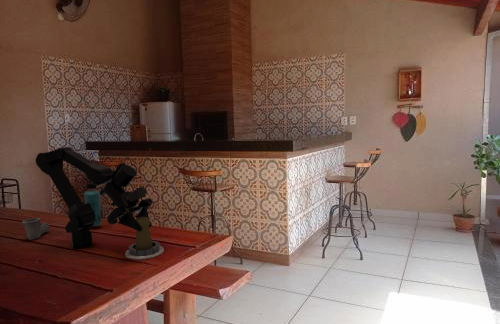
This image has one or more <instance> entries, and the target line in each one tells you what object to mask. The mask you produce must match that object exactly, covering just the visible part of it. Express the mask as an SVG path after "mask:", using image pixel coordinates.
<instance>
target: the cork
mask: <svg viewBox="0 0 500 324" xmlns="http://www.w3.org/2000/svg"><path fill="white" fill-rule="evenodd" d="M135 220H136V221H137V222H138V224H139V225H140V227H141V228H142V231H141V232H139V231H137V230H136V235H135V243H136V245H135V249H148V248H152V247H153V245H152V241H153V240H152V236H151V231H150V227H149V225H150V221H151V219H150V217H149V218H148V217H138V218H135Z"/></svg>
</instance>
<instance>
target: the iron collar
mask: <svg viewBox="0 0 500 324" xmlns="http://www.w3.org/2000/svg"><path fill="white" fill-rule="evenodd" d="M135 245H136V242H134V243H132V244H130V245H129V246H128V250H126V251H125V253H124V254H125V257H126V258H128V259H130V260H137V261H138V260H149V259H153V258H156V257H159V256H160V255H162V254H163V253H164V250H165V249H164V247H163V246H162V245H161V243H160V242H159V241H157V240H156V241H155V240H152V245H153V247H152V248H148V249H135Z"/></svg>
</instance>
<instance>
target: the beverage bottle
mask: <svg viewBox="0 0 500 324" xmlns="http://www.w3.org/2000/svg"><path fill="white" fill-rule="evenodd" d="M97 186H98V185H94V184H93V183H92V182H89V183H86V189H87V190H86V192H84V194H83V195H84V203H85V204H86V203H90V204H91V207H92V208H93V210H94V211H95V212H94V213H95V216H96V217H95V221H94V224H93V227H97V226H100V225H102V222H103V220H102V208H101V199H100V198H101V195H100V191H98V190H96V189H97ZM91 189H92V190H91ZM93 189H94V190H93Z"/></svg>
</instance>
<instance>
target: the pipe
mask: <svg viewBox="0 0 500 324" xmlns="http://www.w3.org/2000/svg"><path fill="white" fill-rule="evenodd" d="M22 225H23V227H24V229H25V234H26V238H27V240H30V241H33V240H36V239H39V238H41V235H44V234H45V233H47V232H48V231H49V230H50V228H51V227H50V224H49V223H48V222H44V223H41V218H40V217H35V218H29V219H25V220H22Z"/></svg>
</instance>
